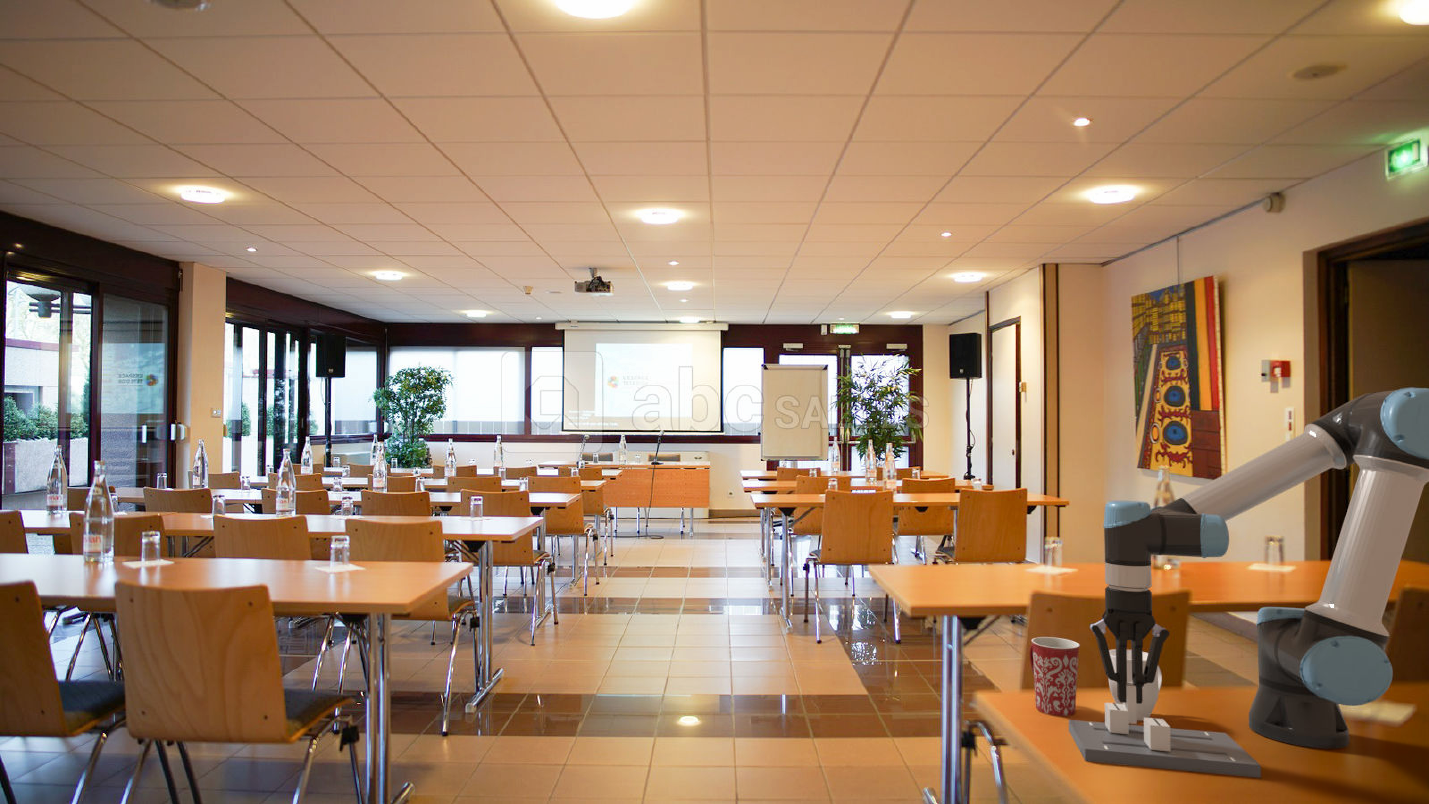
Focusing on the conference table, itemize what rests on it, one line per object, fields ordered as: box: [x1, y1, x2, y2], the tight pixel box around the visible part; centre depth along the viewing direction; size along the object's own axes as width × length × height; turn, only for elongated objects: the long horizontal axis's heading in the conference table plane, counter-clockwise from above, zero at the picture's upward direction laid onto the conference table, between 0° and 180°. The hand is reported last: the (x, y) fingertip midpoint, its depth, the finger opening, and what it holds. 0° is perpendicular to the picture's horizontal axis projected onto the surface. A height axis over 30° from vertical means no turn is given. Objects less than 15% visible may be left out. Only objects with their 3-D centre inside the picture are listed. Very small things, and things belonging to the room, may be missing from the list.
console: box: [1068, 719, 1262, 779], centre depth 140 cm, size 26×15×2 cm, turn 76°
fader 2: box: [1143, 717, 1171, 751], centre depth 137 cm, size 3×4×4 cm
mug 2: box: [1108, 648, 1163, 721], centre depth 160 cm, size 12×9×12 cm
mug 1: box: [1029, 636, 1081, 717], centre depth 164 cm, size 13×9×14 cm
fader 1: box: [1104, 702, 1130, 734], centre depth 145 cm, size 3×4×4 cm
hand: (1130, 721), depth 145 cm, fingers closed
